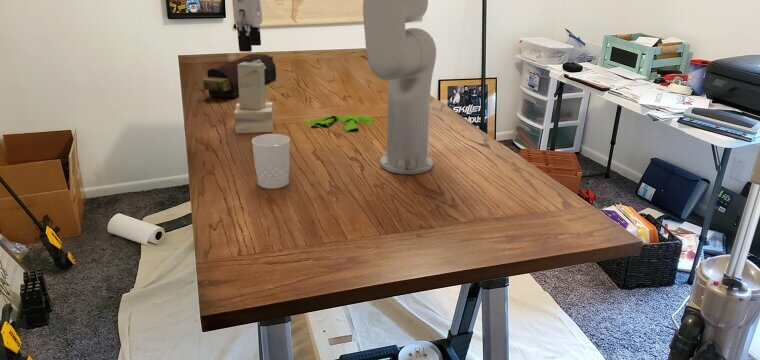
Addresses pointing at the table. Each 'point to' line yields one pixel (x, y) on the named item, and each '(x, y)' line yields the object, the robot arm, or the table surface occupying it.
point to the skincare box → (251, 85)
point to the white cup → (272, 160)
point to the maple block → (254, 119)
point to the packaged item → (235, 75)
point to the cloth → (348, 126)
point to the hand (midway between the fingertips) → (250, 48)
